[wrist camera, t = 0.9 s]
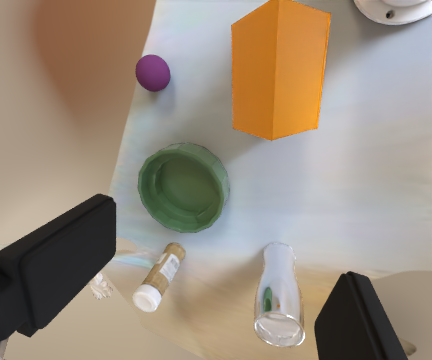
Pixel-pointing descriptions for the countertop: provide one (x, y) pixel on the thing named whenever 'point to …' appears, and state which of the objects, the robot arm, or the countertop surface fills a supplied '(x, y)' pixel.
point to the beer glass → (279, 299)
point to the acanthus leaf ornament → (100, 287)
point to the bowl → (184, 187)
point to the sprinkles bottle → (158, 278)
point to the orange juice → (278, 68)
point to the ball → (152, 73)
